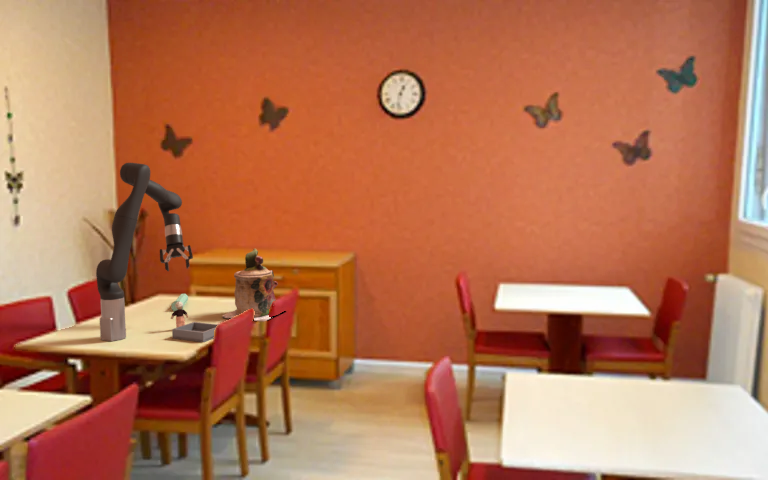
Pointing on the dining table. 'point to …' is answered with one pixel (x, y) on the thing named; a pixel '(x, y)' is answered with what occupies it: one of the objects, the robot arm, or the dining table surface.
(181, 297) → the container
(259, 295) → the cookie jar
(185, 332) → the tray
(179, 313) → the grandmother figurine
